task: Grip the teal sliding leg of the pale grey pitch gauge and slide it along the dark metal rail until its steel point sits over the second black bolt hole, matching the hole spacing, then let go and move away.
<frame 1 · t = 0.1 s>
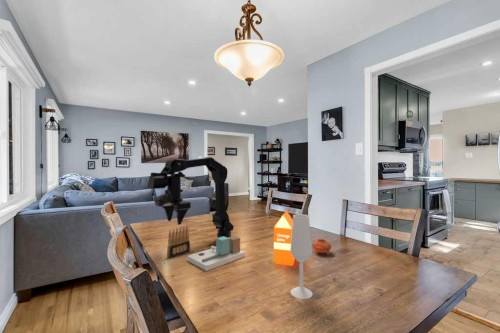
hand: (174, 222, 105), 15 cm above the table, tool pointing down, fingers open, 9 cm apart
champagne flute: (301, 293, 74), on the table
pot: (321, 253, 107), on the table
ammunition clip: (179, 254, 106), on the table
pitch plate: (216, 258, 101), on the table
orange juice: (285, 260, 99), on the table
sliding leg: (218, 244, 102), point 6 cm above the table, slide at 0.0 cm
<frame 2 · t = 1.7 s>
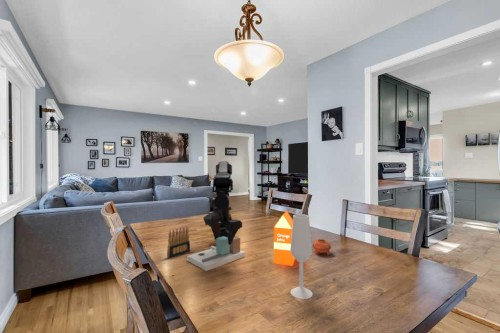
hand: (222, 241, 100), 8 cm above the table, tool pointing down, fingers open, 9 cm apart
nothing on the table moved.
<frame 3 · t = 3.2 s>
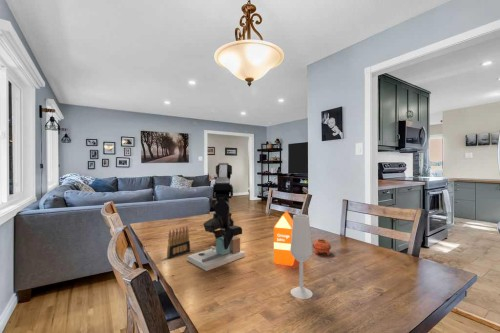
hand: (222, 247, 100), 5 cm above the table, tool pointing down, fingers closed on sliding leg, 4 cm apart
sliding leg: (218, 244, 102), point 6 cm above the table, slide at 0.0 cm, touching gripper
everything else where it was.
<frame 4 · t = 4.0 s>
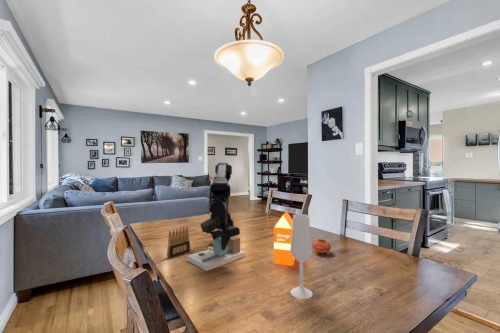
hand: (220, 248, 99), 5 cm above the table, tool pointing down, fingers closed on sliding leg, 4 cm apart
sliding leg: (215, 245, 101), point 6 cm above the table, slide at 1.3 cm, touching gripper
everything else where it was.
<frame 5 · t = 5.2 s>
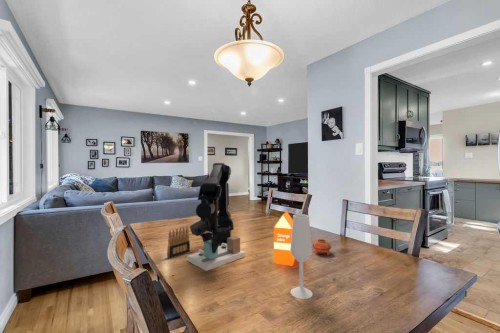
hand: (210, 251, 96), 5 cm above the table, tool pointing down, fingers closed on sliding leg, 4 cm apart
sliding leg: (206, 248, 98), point 6 cm above the table, slide at 6.1 cm, touching gripper
everything else where it was.
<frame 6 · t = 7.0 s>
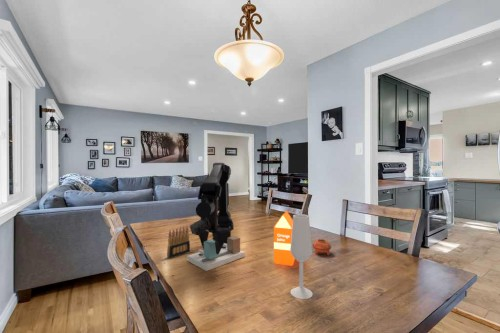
hand: (210, 251, 95), 5 cm above the table, tool pointing down, fingers open, 9 cm apart
sliding leg: (206, 248, 98), point 6 cm above the table, slide at 6.2 cm
everything else where it was.
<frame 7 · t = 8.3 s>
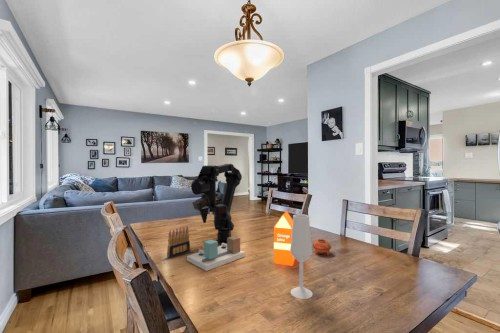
hand: (210, 224, 112), 12 cm above the table, tool pointing down, fingers open, 9 cm apart
nothing on the table moved.
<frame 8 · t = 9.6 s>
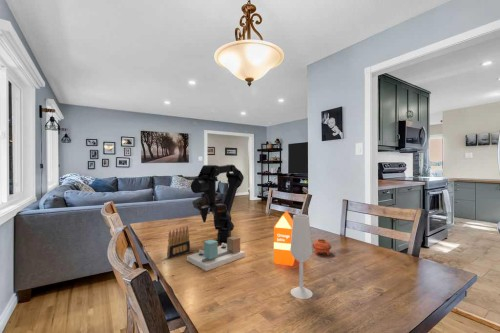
hand: (209, 223, 113), 12 cm above the table, tool pointing down, fingers open, 9 cm apart
nothing on the table moved.
at the end: sliding leg slide at 6.2 cm; the gripper is holding nothing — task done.
